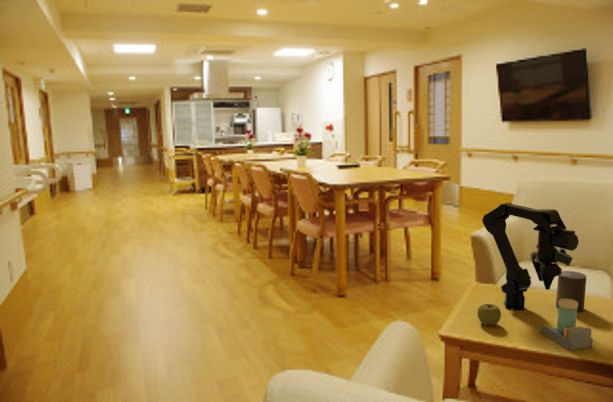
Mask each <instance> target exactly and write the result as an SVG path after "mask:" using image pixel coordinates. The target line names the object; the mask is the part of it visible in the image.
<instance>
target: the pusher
mask: <svg viewBox="0 0 613 402" xmlns="http://www.w3.org/2000/svg"><path fill="white" fill-rule="evenodd" d="M579 328H585V327H584V326H582V325H581V326H580V325H579V326H576V327H571V328H564V337H565V338H566V339H569V330H571V329H579Z"/></svg>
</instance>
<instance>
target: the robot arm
mask: <svg viewBox="0 0 613 402" xmlns="http://www.w3.org/2000/svg"><path fill="white" fill-rule="evenodd" d="M510 216H513V217H517V218H522V219H525V220H529V221H531V222H532V223H533V224H535V225H536V226H535V227H533V231H537V232H538V236H537V237H538V238H537V244H536V246H535V248H536V250H537V251H532V253H530V260H531V263H532V266H533V269H534V270H535V273H536V275H537V278H538V281H539V282H542V283H543V286H544V288H545V290H546V291H547V290H548V291H549V290H550V288H551V286H552V283H553V281H554V279H555V278H556V277H558V276H559V275H561V274H562V271H563V269H562V268H561V266H560V265H559V264H558V262H559V263H560V264H564V265H565V266H568V267H569V266H570V265H571V263H572V260H573V259H574V257H572V256H571V255H570V254H568V253H567V251H575V250H576V249H577V247H578V246H579V241H580V240H579V237H578V236H577V235H576V231H575V230H571V229H570V230H568V229H567V227H566V225H565V223H564V221H563V218H561V215H560V213H559V211H558V210H556V209H550V208H542V209H540V208H539V209H536V208H533V207H532V208H531V207H528V206H522V205H518V204H514V203H512V202H506V203H505V202H504V203H501V204H500V205H499V206H497V207H496V208H494V209H492V210H491V211H489V212H488V213H485V214H484V215H483V217H482V220H481V221H482V225H483V226H484V228H485V230H486V231H487V232H488V233H489V234H490V235H491V236H492V237H493V240H494V242H495V244H496V246H497V250H498V251H499V254H500V256H501V259H502V261H503V264H504V267H505V269H506V272H505V273H506V274H505V280H506V283H504V284H503V285H501V286H500V289H501V291H502V293H504V301H503V305H504V307H505V309H506V310H519V311H520V310H521V311H524V310H525V302H526V299H525V298H526V296H525V295H524V292H527V291H528V289H529V288H530V287H531V285H532V280H531V279H532V277H531V275H530V274H529V273H530V272H529V270H528V268H522V266H520V263H519V261H518V259H517V257H516V254H515V252H514V250H513V246H512V244H511V241H510V240H509V237H508V234H507V232H506V230H507V220H508V219H509V217H510ZM557 248H559V249H557Z"/></svg>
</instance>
